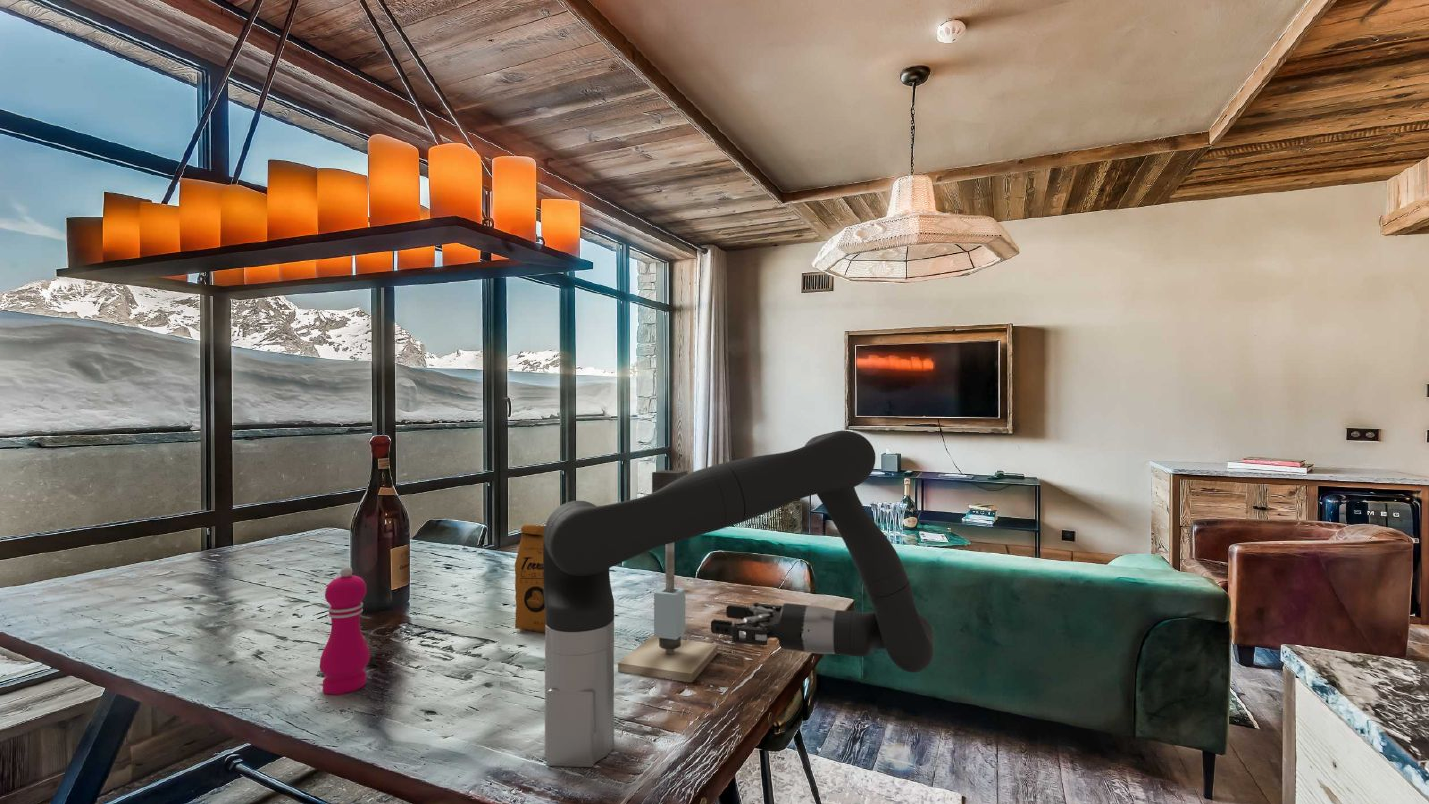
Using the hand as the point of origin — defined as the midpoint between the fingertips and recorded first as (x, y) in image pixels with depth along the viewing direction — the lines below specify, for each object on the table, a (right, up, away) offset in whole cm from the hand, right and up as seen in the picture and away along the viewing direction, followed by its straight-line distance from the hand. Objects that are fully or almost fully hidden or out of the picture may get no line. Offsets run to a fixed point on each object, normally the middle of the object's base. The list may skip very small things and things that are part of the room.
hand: (719, 618), depth 109 cm
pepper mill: (-63, -9, -7) cm, 64 cm away
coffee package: (-37, -10, +21) cm, 44 cm away
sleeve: (-9, -4, +3) cm, 10 cm away
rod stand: (-9, -9, +3) cm, 13 cm away
